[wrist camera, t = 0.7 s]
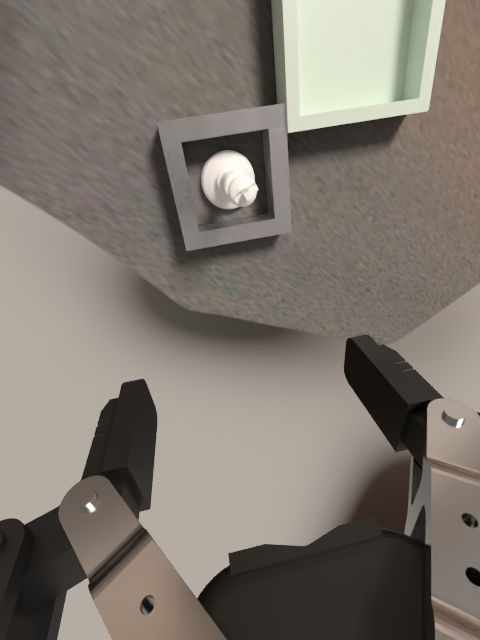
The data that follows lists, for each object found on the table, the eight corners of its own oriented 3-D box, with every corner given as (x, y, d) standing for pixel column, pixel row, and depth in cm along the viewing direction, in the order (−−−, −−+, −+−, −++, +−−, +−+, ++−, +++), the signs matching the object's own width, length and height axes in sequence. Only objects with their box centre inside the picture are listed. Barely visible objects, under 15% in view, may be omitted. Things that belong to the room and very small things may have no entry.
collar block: (159, 124, 25) (156, 122, 23) (277, 106, 25) (285, 103, 23) (186, 243, 30) (186, 251, 28) (283, 226, 31) (291, 232, 28)
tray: (266, -73, 20) (277, -103, 18) (432, -91, 21) (464, -121, 19) (278, 134, 26) (288, 132, 24) (406, 114, 27) (428, 111, 25)
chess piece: (263, 189, 28) (298, 207, 20) (220, 219, 29) (236, 249, 21) (236, 137, 26) (262, 132, 17) (189, 171, 27) (193, 182, 18)
